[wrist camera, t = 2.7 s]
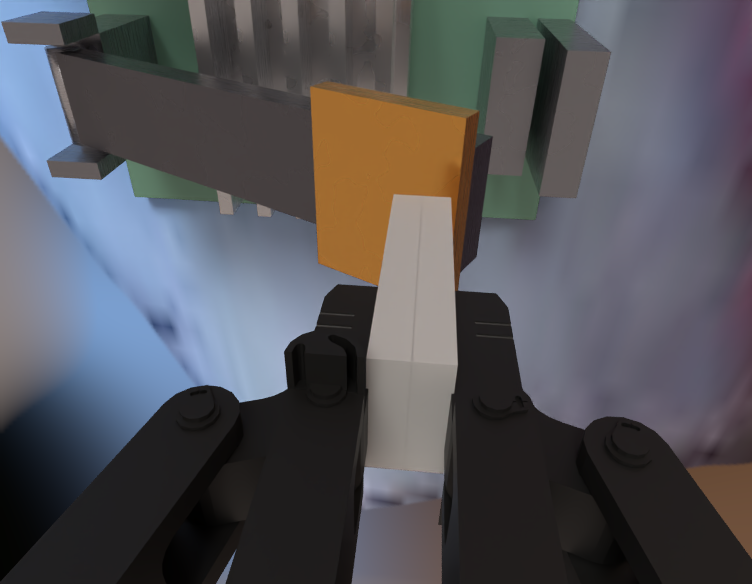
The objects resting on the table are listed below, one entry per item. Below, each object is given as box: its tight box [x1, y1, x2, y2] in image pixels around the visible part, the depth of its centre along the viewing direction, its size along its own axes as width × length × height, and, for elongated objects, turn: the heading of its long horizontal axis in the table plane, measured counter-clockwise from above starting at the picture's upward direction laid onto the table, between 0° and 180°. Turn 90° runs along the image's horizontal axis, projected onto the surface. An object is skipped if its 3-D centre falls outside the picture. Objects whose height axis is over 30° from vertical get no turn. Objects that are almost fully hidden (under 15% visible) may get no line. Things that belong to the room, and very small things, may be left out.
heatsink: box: [188, 0, 413, 219], centre depth 28 cm, size 12×10×6 cm
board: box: [87, 0, 579, 220], centre depth 31 cm, size 16×25×1 cm, turn 89°
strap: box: [45, 44, 493, 291], centre depth 21 cm, size 6×21×2 cm, turn 89°
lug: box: [476, 17, 611, 198], centre depth 26 cm, size 6×4×8 cm
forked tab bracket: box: [2, 12, 158, 180], centre depth 27 cm, size 7×2×8 cm, turn 179°
